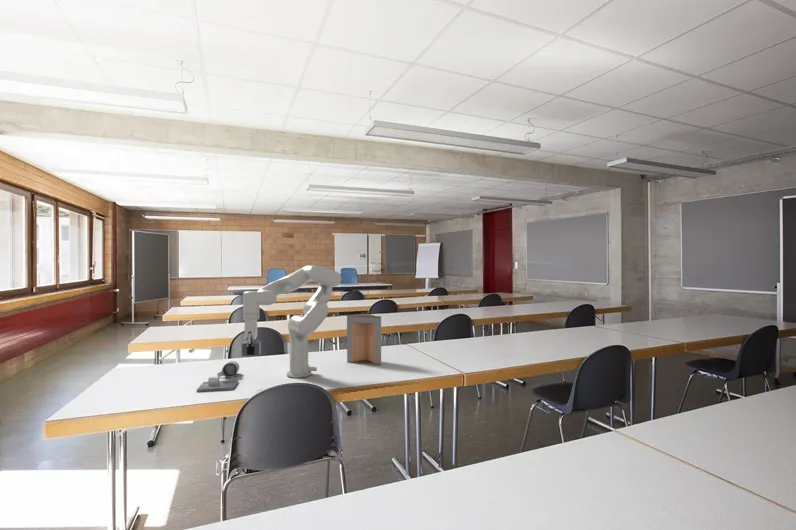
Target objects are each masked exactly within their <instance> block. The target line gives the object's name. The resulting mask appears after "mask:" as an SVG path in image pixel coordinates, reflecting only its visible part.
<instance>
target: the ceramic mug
mask: <svg viewBox="0 0 796 530" xmlns="http://www.w3.org/2000/svg"><path fill="white" fill-rule="evenodd" d="M239 370H240V364H239V363H238V362H237V361H236V360H230V361H228V362H226V363H225V364H224V365H223V367H222V368H221V371H219V372H218V373H217V374H216V375H217V377H219V378H220V377H222V376H224V377H225V378H234V377H235V376H236V375H237V373H239Z"/></svg>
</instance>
